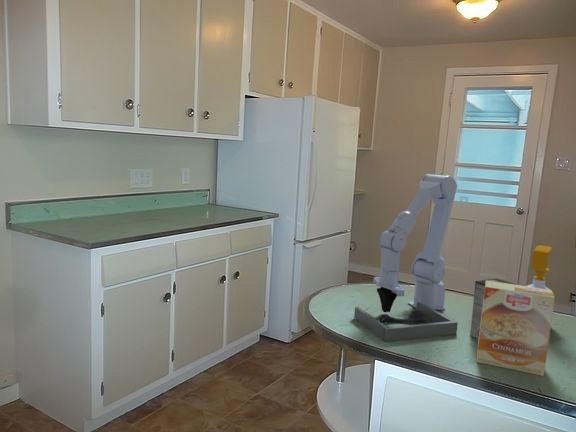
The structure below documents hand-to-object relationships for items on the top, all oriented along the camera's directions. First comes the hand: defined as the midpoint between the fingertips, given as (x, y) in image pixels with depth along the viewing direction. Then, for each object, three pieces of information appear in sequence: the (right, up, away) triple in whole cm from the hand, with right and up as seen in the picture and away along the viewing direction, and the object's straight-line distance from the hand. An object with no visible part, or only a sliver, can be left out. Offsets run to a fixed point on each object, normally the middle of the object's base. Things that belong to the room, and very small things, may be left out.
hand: (386, 311), depth 144 cm
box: (+3, -2, -9) cm, 10 cm away
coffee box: (+26, -5, -14) cm, 30 cm away
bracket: (+4, -3, -6) cm, 7 cm away
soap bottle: (+45, -4, -2) cm, 46 cm away
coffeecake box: (+24, -7, -31) cm, 39 cm away
